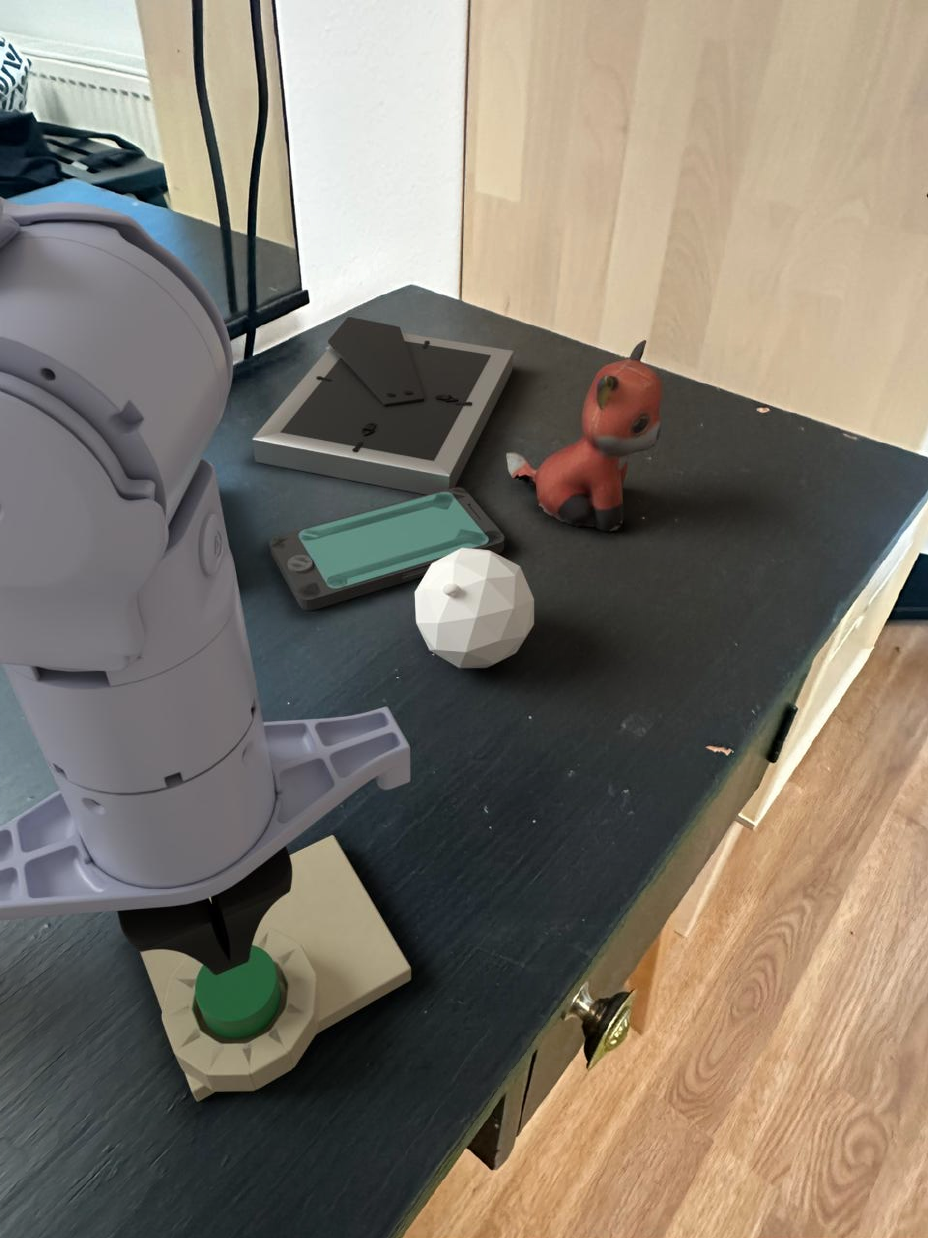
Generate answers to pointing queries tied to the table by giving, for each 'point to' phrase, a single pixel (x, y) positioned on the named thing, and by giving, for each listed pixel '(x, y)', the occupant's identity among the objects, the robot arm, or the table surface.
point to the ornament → (474, 608)
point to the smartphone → (380, 546)
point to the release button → (240, 996)
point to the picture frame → (387, 409)
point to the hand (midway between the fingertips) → (224, 945)
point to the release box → (287, 976)
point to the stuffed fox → (599, 447)
